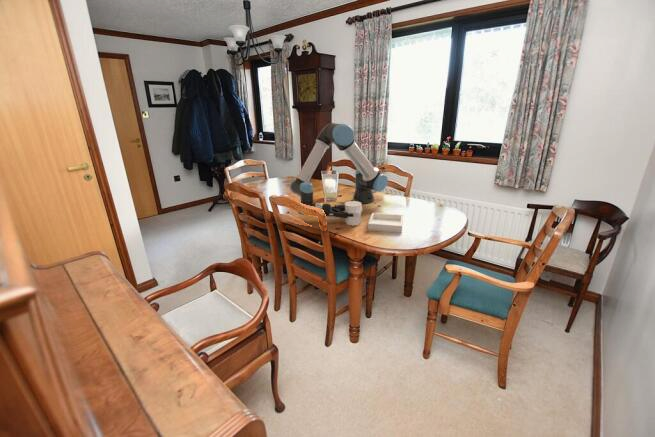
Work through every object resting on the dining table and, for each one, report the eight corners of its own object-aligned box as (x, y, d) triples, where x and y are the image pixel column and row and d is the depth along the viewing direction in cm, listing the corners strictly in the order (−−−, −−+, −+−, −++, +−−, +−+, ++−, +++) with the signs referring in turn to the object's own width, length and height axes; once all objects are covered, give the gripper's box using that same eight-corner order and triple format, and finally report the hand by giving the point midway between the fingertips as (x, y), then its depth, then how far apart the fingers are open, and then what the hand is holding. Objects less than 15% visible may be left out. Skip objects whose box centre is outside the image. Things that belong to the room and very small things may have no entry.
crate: (372, 218, 186) (372, 212, 184) (402, 221, 181) (403, 214, 180) (367, 230, 170) (368, 223, 168) (401, 232, 165) (401, 226, 164)
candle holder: (360, 226, 175) (360, 206, 171) (343, 225, 177) (343, 205, 173) (362, 220, 184) (362, 201, 180) (345, 219, 186) (345, 200, 182)
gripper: (328, 209, 194) (363, 212, 188) (318, 222, 174) (357, 225, 168) (327, 198, 191) (363, 200, 185) (317, 209, 171) (357, 212, 166)
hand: (360, 212), depth 177 cm, fingers closed on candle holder, 9 cm apart
